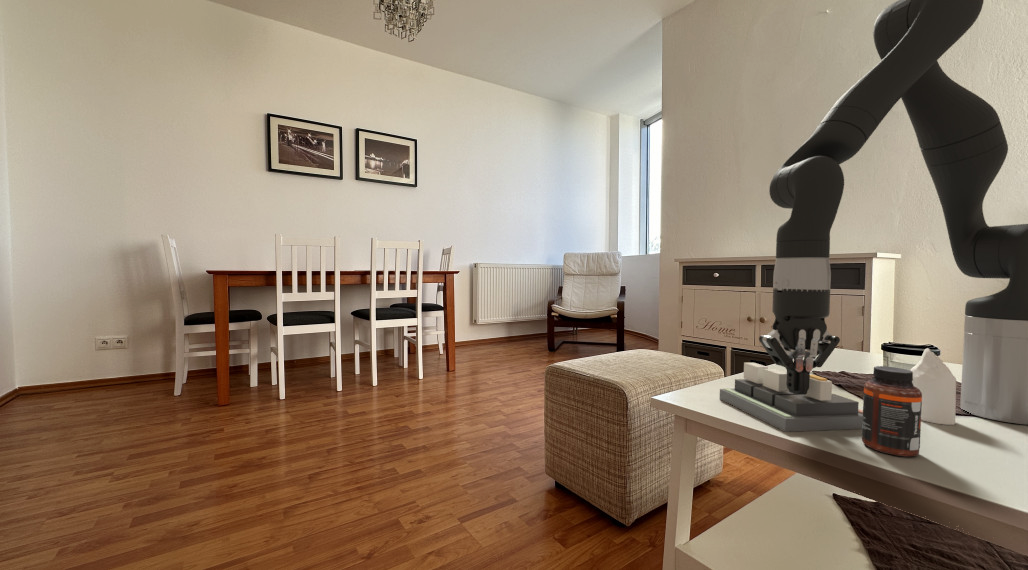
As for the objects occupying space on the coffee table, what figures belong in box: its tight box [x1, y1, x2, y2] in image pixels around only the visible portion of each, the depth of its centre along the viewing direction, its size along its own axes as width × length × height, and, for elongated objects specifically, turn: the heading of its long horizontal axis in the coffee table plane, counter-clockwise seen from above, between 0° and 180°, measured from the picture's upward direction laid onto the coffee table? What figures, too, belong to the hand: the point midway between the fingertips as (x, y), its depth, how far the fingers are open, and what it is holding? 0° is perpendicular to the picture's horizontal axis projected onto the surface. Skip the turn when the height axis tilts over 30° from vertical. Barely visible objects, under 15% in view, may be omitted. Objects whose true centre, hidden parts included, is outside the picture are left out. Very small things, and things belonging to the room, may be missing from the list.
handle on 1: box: [743, 362, 769, 383], centre depth 76 cm, size 2×4×3 cm, turn 7°
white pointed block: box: [909, 347, 957, 426], centre depth 69 cm, size 6×12×6 cm
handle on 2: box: [763, 368, 789, 392], centre depth 71 cm, size 2×4×3 cm, turn 7°
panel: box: [719, 378, 863, 433], centre depth 71 cm, size 16×16×4 cm
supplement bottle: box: [861, 365, 922, 458], centre depth 56 cm, size 6×6×11 cm
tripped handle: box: [804, 374, 833, 400], centre depth 66 cm, size 2×4×3 cm, turn 7°
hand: (797, 393), depth 66 cm, fingers closed
